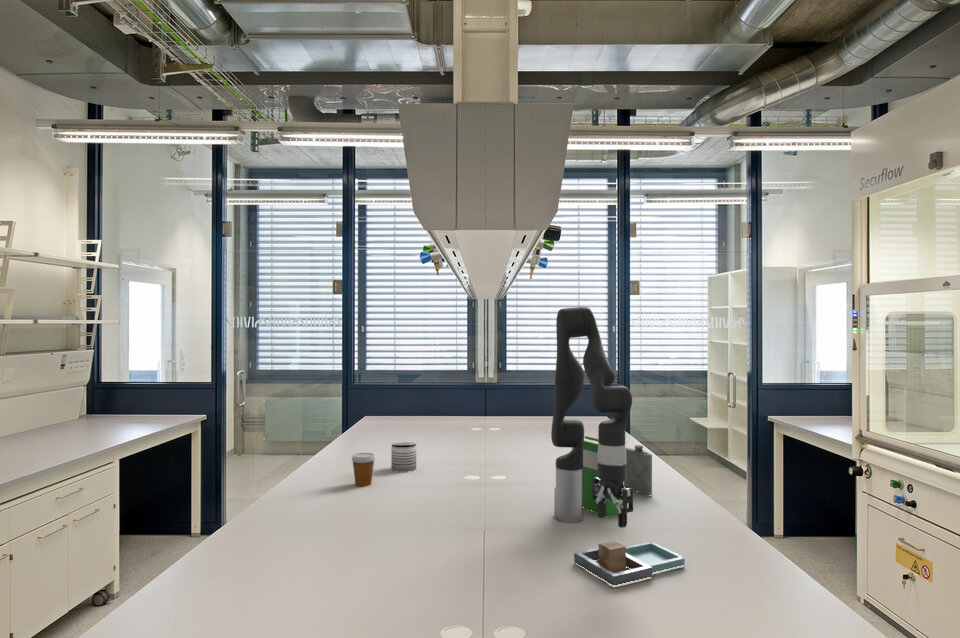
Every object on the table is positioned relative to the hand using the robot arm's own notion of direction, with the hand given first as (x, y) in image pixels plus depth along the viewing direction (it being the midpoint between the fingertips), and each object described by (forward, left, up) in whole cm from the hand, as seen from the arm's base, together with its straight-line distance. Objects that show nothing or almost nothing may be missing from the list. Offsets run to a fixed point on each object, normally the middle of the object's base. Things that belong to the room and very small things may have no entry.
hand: (611, 522), depth 155 cm
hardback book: (-45, +29, -13) cm, 55 cm away
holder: (0, 0, -13) cm, 13 cm away
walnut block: (0, 0, -13) cm, 13 cm away
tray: (0, +13, -13) cm, 19 cm away
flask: (-55, +57, -13) cm, 80 cm away
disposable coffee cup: (-111, -38, -13) cm, 118 cm away
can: (-128, -15, -13) cm, 130 cm away
